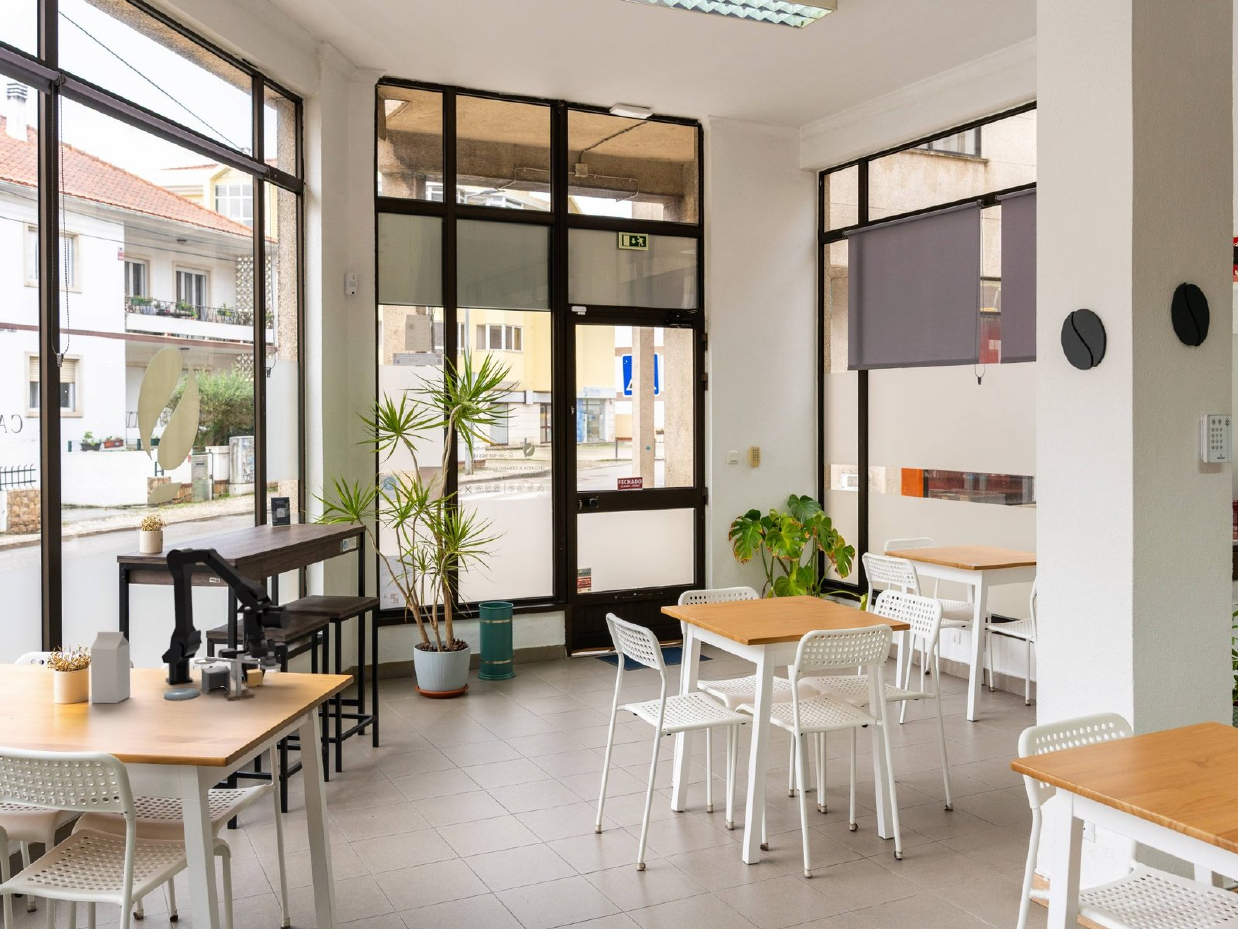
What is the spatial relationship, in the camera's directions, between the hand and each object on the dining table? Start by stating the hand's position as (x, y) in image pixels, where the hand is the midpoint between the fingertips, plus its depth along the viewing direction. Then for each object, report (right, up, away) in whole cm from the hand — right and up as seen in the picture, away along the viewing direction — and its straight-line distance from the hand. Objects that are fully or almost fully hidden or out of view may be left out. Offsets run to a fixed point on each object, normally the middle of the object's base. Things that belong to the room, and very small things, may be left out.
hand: (253, 681), depth 294 cm
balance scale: (+1, -2, -13) cm, 13 cm away
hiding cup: (-6, -1, +8) cm, 10 cm away
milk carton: (-33, -2, -17) cm, 37 cm away
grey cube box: (-9, -1, -6) cm, 11 cm away
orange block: (0, -1, 0) cm, 1 cm away
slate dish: (-16, -2, -12) cm, 20 cm away
